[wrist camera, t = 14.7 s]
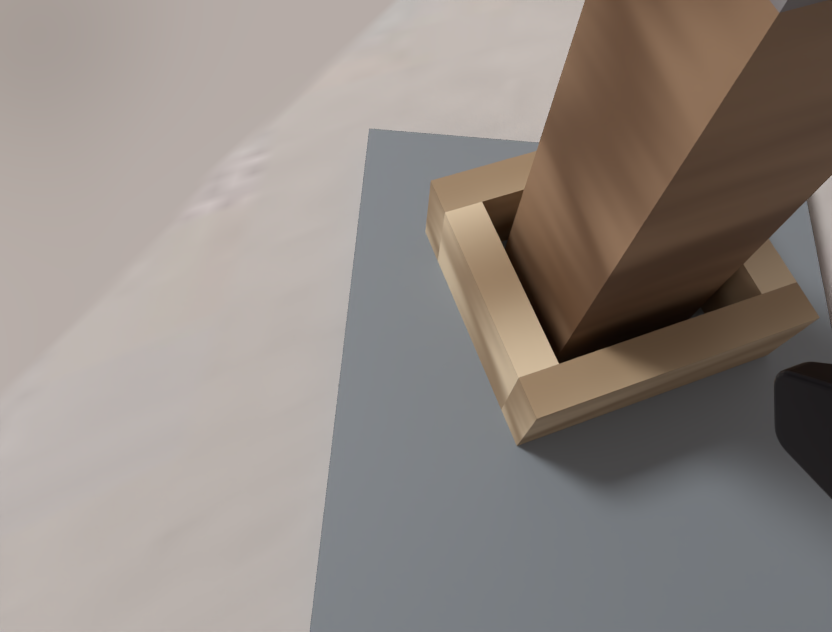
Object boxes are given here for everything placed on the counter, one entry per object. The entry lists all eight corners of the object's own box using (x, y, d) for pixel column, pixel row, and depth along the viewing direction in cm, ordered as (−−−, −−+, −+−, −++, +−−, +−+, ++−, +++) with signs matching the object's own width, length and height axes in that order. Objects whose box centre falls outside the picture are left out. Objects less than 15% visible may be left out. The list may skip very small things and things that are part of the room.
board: (785, 179, 27) (799, 164, 26) (876, 676, 20) (900, 679, 19) (369, 145, 27) (369, 128, 26) (312, 635, 20) (309, 635, 19)
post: (686, 321, 23) (1106, -103, 10) (549, 369, 22) (803, -26, 9) (630, 222, 24) (927, -263, 11) (500, 263, 24) (653, -211, 10)
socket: (766, 355, 23) (820, 317, 20) (516, 445, 21) (536, 418, 18) (652, 164, 25) (684, 109, 23) (425, 231, 24) (430, 180, 21)
